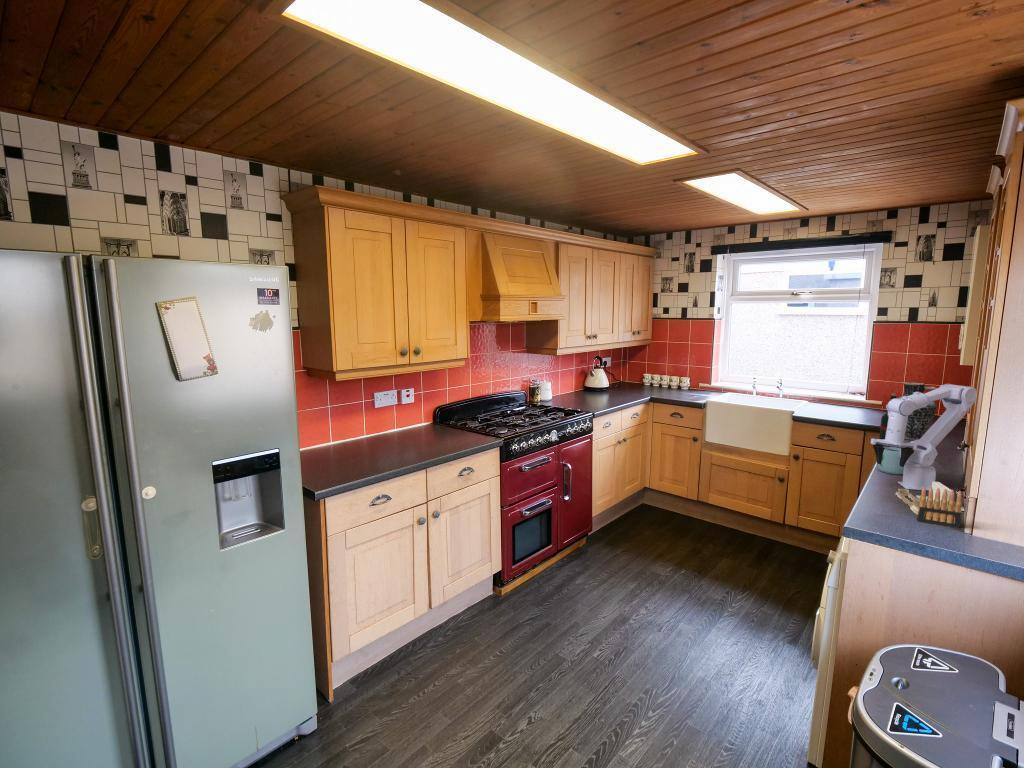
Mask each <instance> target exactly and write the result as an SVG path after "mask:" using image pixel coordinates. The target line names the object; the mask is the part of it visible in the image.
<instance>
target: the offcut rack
mask: <svg viewBox="0 0 1024 768" xmlns="http://www.w3.org/2000/svg"><path fill="white" fill-rule="evenodd" d="M896 495H897V497H898V499H900V500H901V499H902V500H903V501H902V500H901V501H902V502H903V503H905V505H907V504H908V505H907V506H909V509H910V510H911V511H912V512H913V513H914V514H916V515H917V516H918V510H919V502H920V500H919V499H918V498H917V497H916V495H915V496H914V495H913V494H912V493H911V492H910V489H906V488H898V491H896V492H895V496H896ZM905 496H908V497H907V498H906V497H905ZM908 498H911V499H910V500H909V499H908ZM911 500H912V501H911ZM926 503H927V502H926ZM925 512H926V511H925ZM932 514H933V512H932Z"/></svg>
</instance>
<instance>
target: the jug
mask: <svg viewBox="0 0 1024 768" xmlns="http://www.w3.org/2000/svg"><path fill="white" fill-rule="evenodd" d="M903 387H904V393H903V394H902V396H900V397H898V398H897V397H896V398H897V399H901V398H902V397H904V396H910V395H913V393H914V392H919V393H923V394H924V392H925V391H929V390H930V391H931V390H935V389H937V388H938V387H935V386H926V384H925V383H923V382H903ZM936 402H937V400H935V401H932V402H929V403H928V405H927V406H926V407H923V408H920V409H917V410H914V411H913V412H912V414H910V415H908V419H907V425H906V431H905V436H904V440H911V441H915V440H919V439H920V438H921V437H922V436H923V435H924V434H925V433H926V432H927V431H928V430H929V428H930V427H929V426H930V424H931V423H932V421H933V419H934V417H935V414H936V412H937V403H936Z"/></svg>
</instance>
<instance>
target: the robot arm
mask: <svg viewBox="0 0 1024 768" xmlns="http://www.w3.org/2000/svg"><path fill="white" fill-rule="evenodd" d="M936 388H937V389H935V390H934V389H931V390H930V391H928V392H925V393H924V392H923V393H919V392H914V393H913V395H910V396H904V397H902V398H901V399H897V397H896V398H895V399H892V400H889V401H888V403H887V404H886V407H885V408H886V410H887V413H888V417H889V419H888V425H887V431H886V436H885V439H879V438H871V439H870V445H872V448H873V450H874V453H875V458H876V464H877V463H878V464H881V461H882V455H883V452H884V449H885V448H884V447H883V446H882V445H885V446H893V447H899V448H901V450H900V462H899V466H901V467H904V471H903V474H902V481H897V483H898V484H899V485H900V486H902V487H903V489H908V490H916V491H917V490H918V491H922V488H923V486H925V488H926V491H927V492H929V489H930V487H932V482H936V477H937V476H936V475H937V471H936V468H935V467H934V466H933V464H934V461H935V459H936V457H937V456H938V455H939V454H938V451H937V449H936V447H937V446H938V445H939V444H940V443H941V441H943V440H944V438H946V436H947V435H948V434H949V433H950V432H951V431H952V430H953V429H954V428H955V426H957V425H958V424H959V422H960V421H961V420H963V418H964V417H965V416H966V414H967V413H968V411H969V409H970V408H971V407H972V406H973V405H974V404H975V403H976V402H977V400H976V392H978V391H977V389H976V388H975V387H974V386H965V385H958V384H957V385H956V384H953V383H945V384H941V385H940V386H939V387H936ZM935 400H936V401H938V400H941V401H942V404H943V408H945V411H944V412H943V413H942V415H940V416H939V417H938V419H937V420H936V421H935V422H934V423H933V424H932V425H931V426H930V427H929V428H928V429H927V431H926V433H925V434H924V435H923V436H922V437H921V438H920V439H919V440H911V441H910V442H905V439H904V436H905V431H906V425H907V419H908V415H910V414H912V412H913V411H914V410H917V409H920V408H923V407H926V406H927V405H928V403H929V402H932V401H935ZM975 401H976V402H975ZM889 444H892V445H889ZM898 445H899V446H898Z"/></svg>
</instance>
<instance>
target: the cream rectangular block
mask: <svg viewBox="0 0 1024 768" xmlns="http://www.w3.org/2000/svg"><path fill="white" fill-rule="evenodd" d="M938 488H939V489H940V505H941V500H942V495H943V491H944V490H945V489H946V490H947V507H948V501H949V497H950V493H951V491H952V490H953V489H950V488H949V487H948V486H946V485H944V484H943V483H942V482H940V481H935V482H932V489H933V500H934V499H935V494H936V490H937V489H938Z"/></svg>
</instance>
